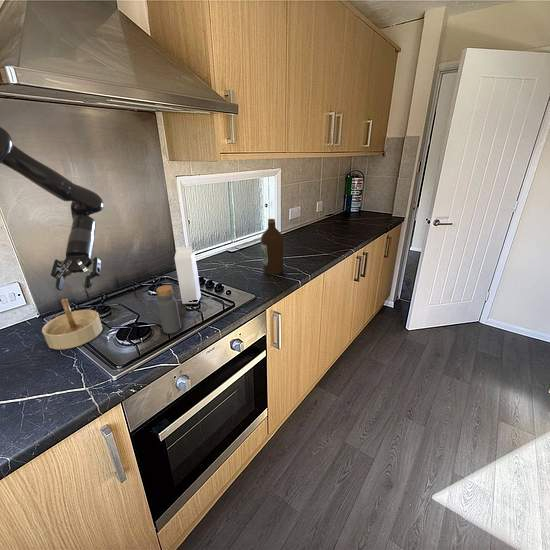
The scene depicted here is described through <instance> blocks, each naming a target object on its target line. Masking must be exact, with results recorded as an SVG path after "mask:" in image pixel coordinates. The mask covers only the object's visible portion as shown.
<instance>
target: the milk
mask: <svg viewBox="0 0 550 550" xmlns="http://www.w3.org/2000/svg"><path fill="white" fill-rule="evenodd" d="M174 254H175V255H174V263H175V269H176V275H177V281H178V286H179V292H180V296H181V297H180V298H181V303H182V305H192V304H194V305H196V304H197V305H198V304H199V301H200V299H201V297H202V292H201V287H200V280H199V273H198V266H197V259H196V252H195V251H194V250H193V246H176V247H175V253H174ZM192 300H198V301H197V302H189V301H192Z"/></svg>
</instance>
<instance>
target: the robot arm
mask: <svg viewBox="0 0 550 550" xmlns="http://www.w3.org/2000/svg"><path fill="white" fill-rule="evenodd" d="M13 142H14V141H13V139H12V137H11V134H10V133H9V132H8V131H7V130H6V129H5V128H3V127H2V126H0V164H2V165H4V166H6V167H7V168H9V169H11V170H13V171H14V172H16V173H18V174H19V175H21V176H23V177H24V178H26V179H28V180H29V181H30V182H32V183H34V184H35V185H36V186H38V187H40V188H41V189H42V190H44V191H46V192H47V193H49V194H50V195H52V196H53V197H56V198H57V199H59V200H61V201H63V202H70V213H71V219H72V224H71V228H70V233H69V235H68V238H67V239H68V240H67V245H66V250H65V258H64V260H59V259H57V258H56V259H54V261H53V265H52V269H51V272H50V276H51V277H53V278H54V279H56V280H55V288H56V290H58V291H64V287H65V286H64V285H65V282H66V281H65V279H66V278H67V277H68V276H71V275H72V274H76V273H77V274H78V273H85V275H86V276H85V280H84V288H85V289H86V290H87V289H88V290H89V289H91V288H92V286H93V282H94V278H95V277H99V276H101V268H102V260H100V258H98V257H97V256H94V258H93V254H94V247H95V236H96V235H95V234H96V227H97V222H96V220H95V219H94V218H93V217H91V215H94V214H97V213H99V212H101V211H103V210H104V208H105V203H104V200H103V199H102V197H101V196H100V195H99V194H98V193H96V192H95V191H93V190H90V189H88V188H86V187H84V186H81V185H79V184H76V183H74V182H72V180H69V179H68V178H67V177H65V176H64V175H62V174H61V173H59V172H58V171H56V170H55V169H54V168H51V167H49V166H48V165H46V164H44V163H42V162H41V161H39V160H37V159H35V158H34V157H32V156H31V155H29V154H27V153H26V152H25V151H23V150H21V149H20V148H18V147H17V146H16V145H15V144H14V143H13ZM91 265H92V270H91V269H90V266H91Z"/></svg>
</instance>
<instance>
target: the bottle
mask: <svg viewBox="0 0 550 550" xmlns="http://www.w3.org/2000/svg"><path fill="white" fill-rule="evenodd" d="M155 291H156V293H157V294H156V298H157V299H158V300H157V301H156V304H157V305H156V306H157V310H158V314H159V320H160V324H161V329H162V331H163V333H164V334H168V335H170V334H174V333H177V332H179V331H181V329H182V322H181V318H180V317H181V316H180V313H179V312H180V311H179V307H178V301H177V299H176V297H174V296H175V292H174V290H173V286H172V285H169V284H164V285H160V286H158V287H156V289H155Z"/></svg>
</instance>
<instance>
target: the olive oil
mask: <svg viewBox="0 0 550 550" xmlns="http://www.w3.org/2000/svg"><path fill="white" fill-rule="evenodd" d="M284 240H285V239H284V235H283V234H282V233H281V232H280V230H278V229H277V227H276V219H275V218H268V219H267V228H266V230H265V231H264V232H263V233H262V235H261V237H260V248H261V258H262V259H261V260H262V268H263V273H264V274H266V275H271V276H273V275H280V274H281V273H283V271H284V248H285V247H284V245H285V241H284Z"/></svg>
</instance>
